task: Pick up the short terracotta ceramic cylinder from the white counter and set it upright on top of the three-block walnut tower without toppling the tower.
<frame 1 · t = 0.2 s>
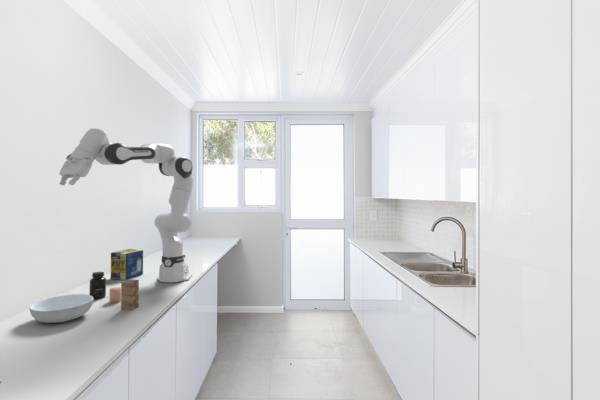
hand: (66, 184, 152), 54 cm above the worktop, tool tilted 30°, fingers open, 8 cm apart
supplement bottle: (97, 297, 165), on the worktop
serving bowl: (62, 319, 136), on the worktop
block middle: (130, 299, 150), point 4 cm above the worktop, touching block bottom, block top
cylinder: (115, 301, 159), on the worktop
block bottom: (130, 308, 150), on the worktop, touching block middle
protein box: (127, 277, 206), on the worktop
block top: (130, 290, 150), point 8 cm above the worktop, touching block middle
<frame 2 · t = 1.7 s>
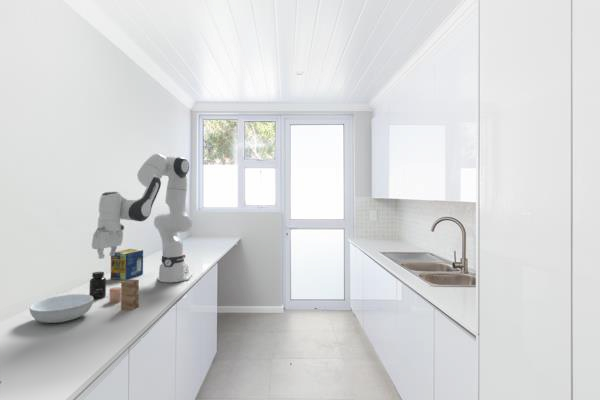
hand: (106, 257, 156), 21 cm above the worktop, tool pointing down, fingers open, 8 cm apart
nothing on the worktop moved.
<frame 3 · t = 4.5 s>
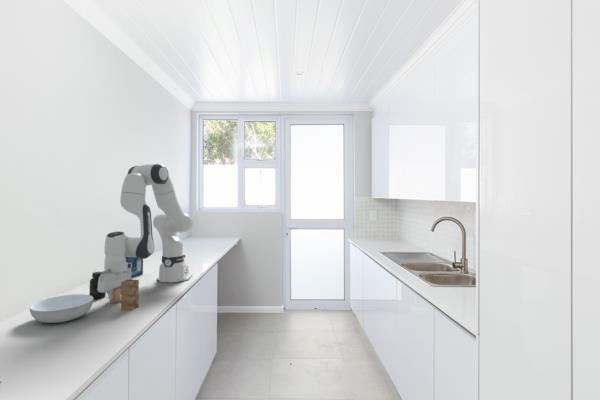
hand: (115, 296, 159), 2 cm above the worktop, tool pointing down, fingers closed on cylinder, 5 cm apart
cylinder: (115, 301, 159), on the worktop, touching gripper
everything else where it was.
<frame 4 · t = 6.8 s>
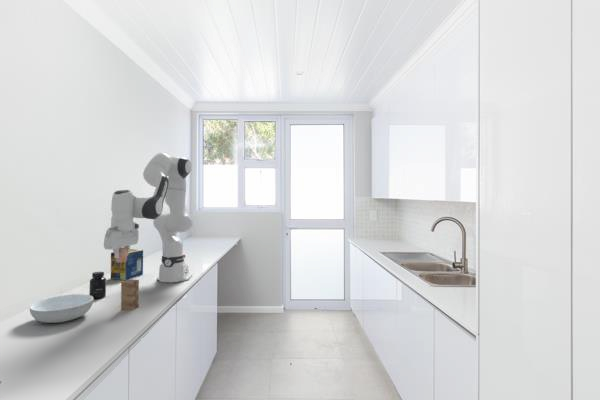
hand: (121, 256, 154), 22 cm above the worktop, tool pointing down, fingers closed on cylinder, 5 cm apart
cylinder: (121, 261, 154), point 20 cm above the worktop, touching gripper
everything else where it was.
when the fingers open (15 cm above the worktop, at t = 9.2 s): cylinder drops 1 cm, resting on block top.
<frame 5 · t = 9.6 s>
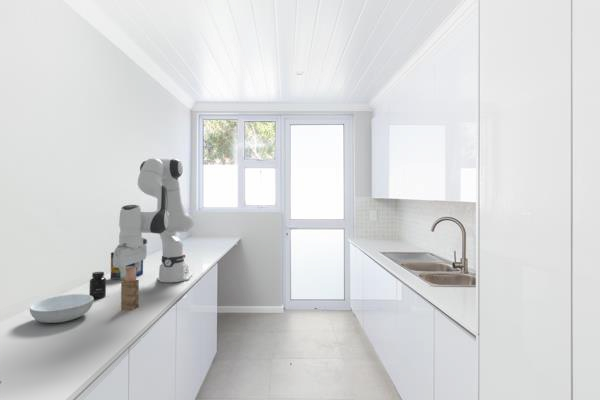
hand: (130, 273, 150), 15 cm above the worktop, tool pointing down, fingers open, 8 cm apart
cylinder: (130, 281, 150), point 12 cm above the worktop, touching block top
block top: (130, 290, 150), point 8 cm above the worktop, touching block middle, cylinder
everything else where it was.
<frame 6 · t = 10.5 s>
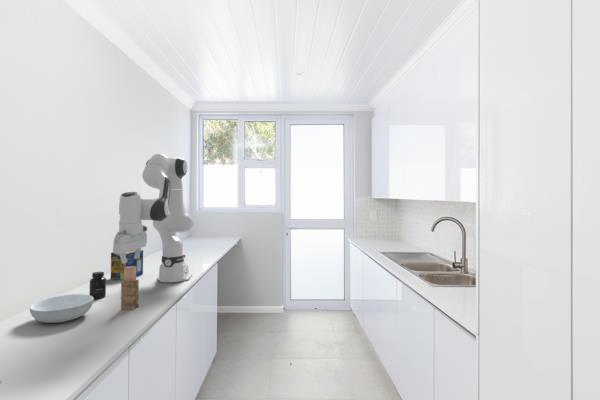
hand: (130, 260, 150), 21 cm above the worktop, tool pointing down, fingers open, 8 cm apart
nothing on the worktop moved.
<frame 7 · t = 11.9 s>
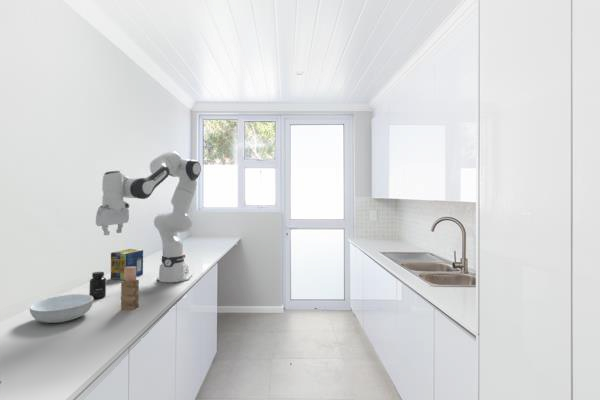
hand: (113, 234, 163), 31 cm above the worktop, tool pointing down, fingers open, 8 cm apart
nothing on the worktop moved.
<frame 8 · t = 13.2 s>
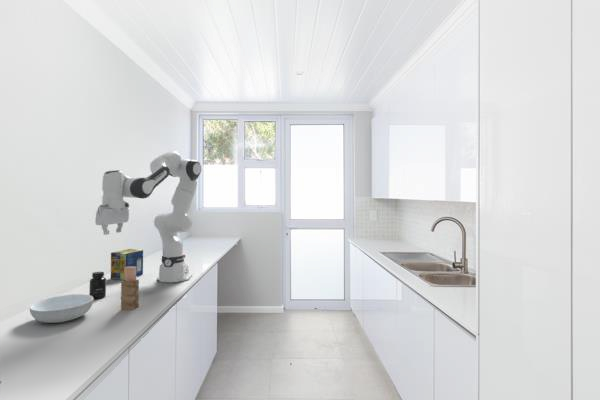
hand: (112, 233, 163), 31 cm above the worktop, tool pointing down, fingers open, 8 cm apart
nothing on the worktop moved.
at the end: cylinder 0.0 cm off-centre on the block top, point 4.0 cm above the block top's base; cylinder tilted 0°; block top point 7.9 cm above the worktop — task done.
